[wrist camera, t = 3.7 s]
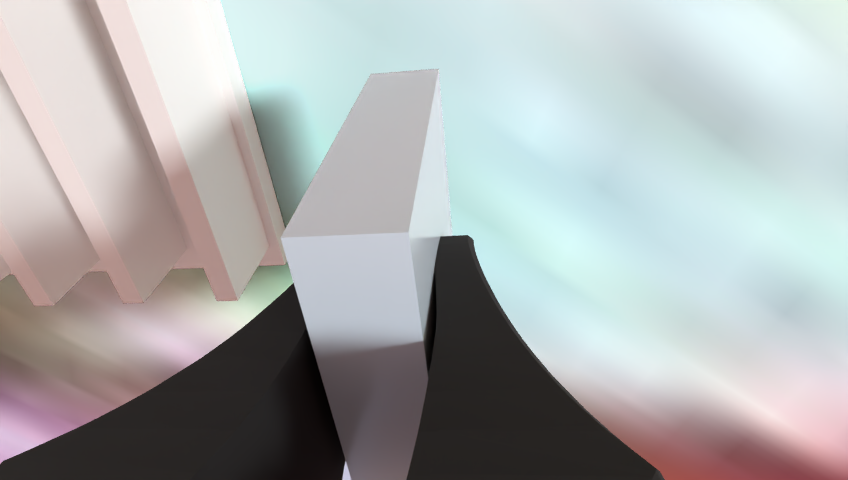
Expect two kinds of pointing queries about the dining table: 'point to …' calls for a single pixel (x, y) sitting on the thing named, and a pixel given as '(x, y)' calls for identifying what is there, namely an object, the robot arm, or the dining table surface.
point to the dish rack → (128, 149)
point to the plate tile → (375, 266)
